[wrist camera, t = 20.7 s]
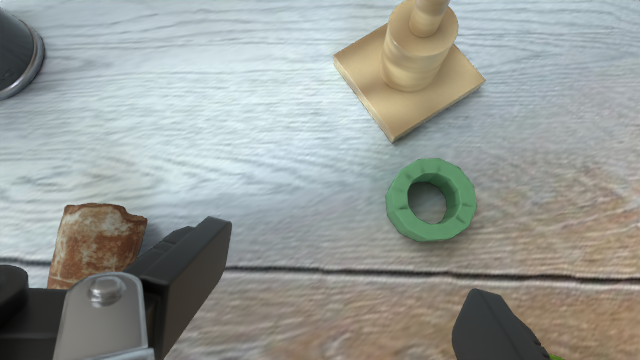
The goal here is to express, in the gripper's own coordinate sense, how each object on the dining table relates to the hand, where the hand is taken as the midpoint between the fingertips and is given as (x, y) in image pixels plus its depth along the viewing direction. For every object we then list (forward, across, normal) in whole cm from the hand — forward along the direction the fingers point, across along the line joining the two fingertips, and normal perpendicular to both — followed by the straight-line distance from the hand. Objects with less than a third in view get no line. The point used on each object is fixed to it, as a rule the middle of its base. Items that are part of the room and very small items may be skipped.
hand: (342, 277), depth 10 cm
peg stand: (+24, -3, -8) cm, 25 cm away
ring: (+18, -7, +2) cm, 19 cm away
